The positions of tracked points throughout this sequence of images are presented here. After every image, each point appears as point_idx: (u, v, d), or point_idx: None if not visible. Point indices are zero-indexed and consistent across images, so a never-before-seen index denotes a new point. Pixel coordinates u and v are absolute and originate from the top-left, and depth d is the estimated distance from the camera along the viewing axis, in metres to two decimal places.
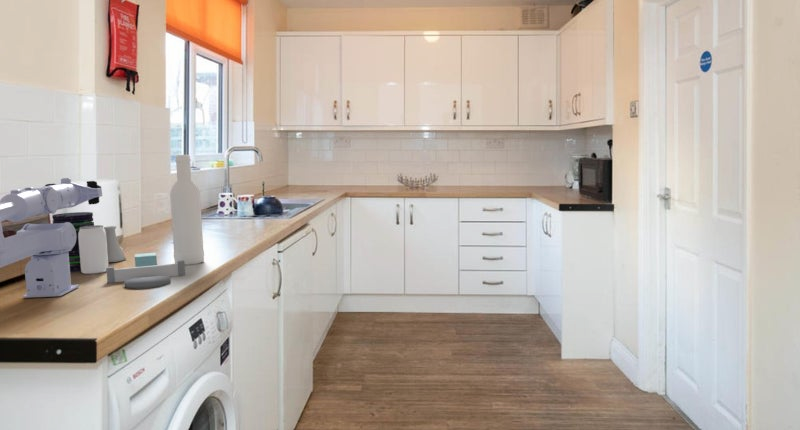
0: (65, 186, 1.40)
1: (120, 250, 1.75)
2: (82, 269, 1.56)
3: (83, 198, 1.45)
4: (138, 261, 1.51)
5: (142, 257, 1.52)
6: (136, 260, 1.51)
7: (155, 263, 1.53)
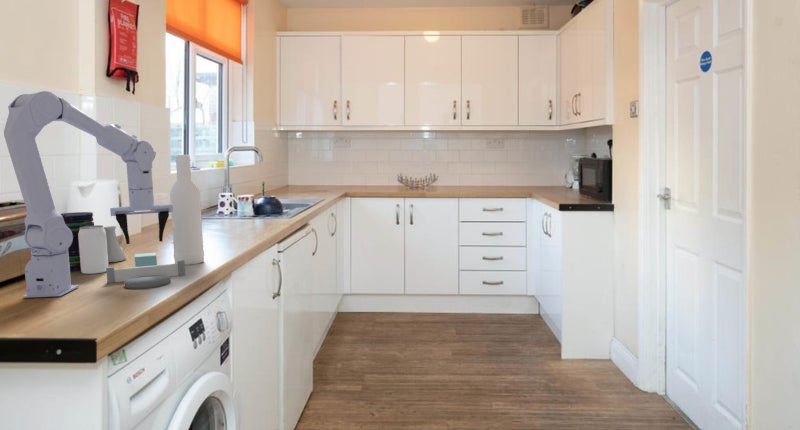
0: None
1: (120, 250, 1.75)
2: (82, 269, 1.56)
3: None
4: (138, 261, 1.51)
5: (142, 257, 1.52)
6: (136, 260, 1.51)
7: (155, 263, 1.53)
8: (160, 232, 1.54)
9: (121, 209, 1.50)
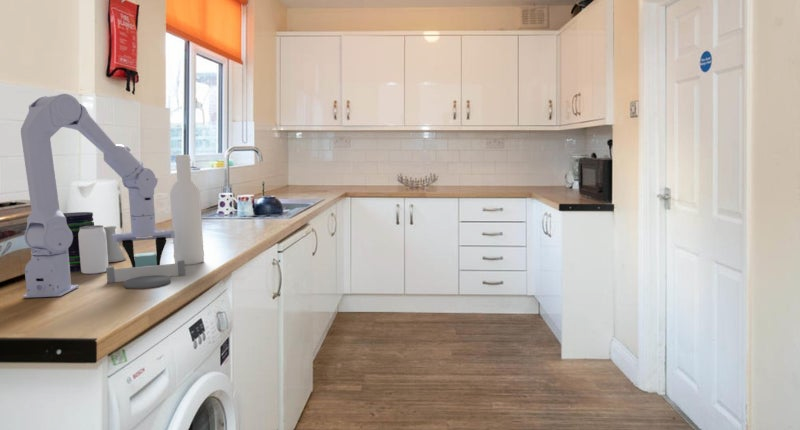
0: None
1: (120, 250, 1.75)
2: (82, 269, 1.56)
3: None
4: (138, 260, 1.51)
5: (142, 257, 1.52)
6: (136, 260, 1.51)
7: (155, 263, 1.53)
8: (157, 258, 1.54)
9: (123, 236, 1.50)
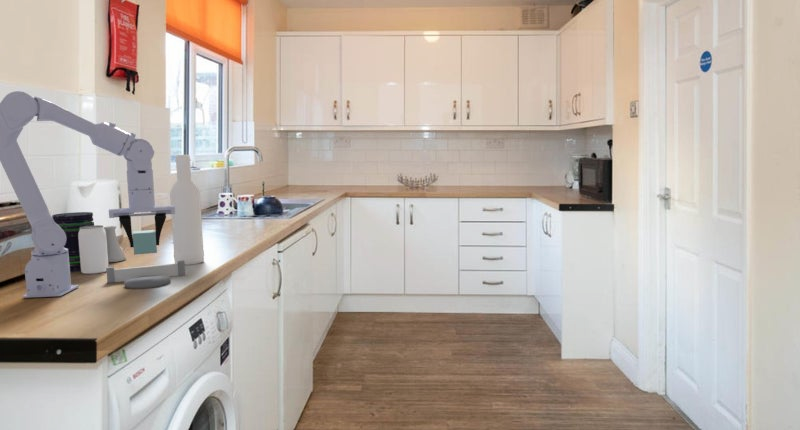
0: None
1: (120, 250, 1.75)
2: (82, 269, 1.56)
3: None
4: (136, 238, 1.43)
5: (140, 234, 1.43)
6: (134, 237, 1.43)
7: (154, 240, 1.44)
8: (157, 235, 1.45)
9: (120, 211, 1.42)
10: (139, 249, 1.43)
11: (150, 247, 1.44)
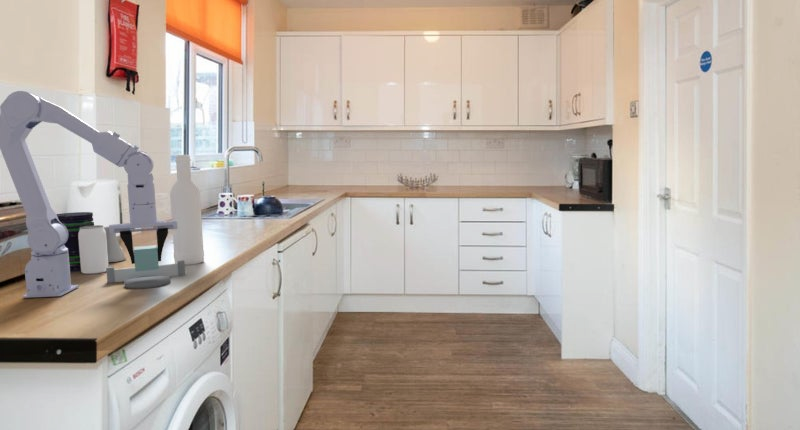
0: None
1: (120, 250, 1.75)
2: (82, 269, 1.56)
3: None
4: (137, 254, 1.38)
5: (142, 250, 1.39)
6: (135, 253, 1.38)
7: (156, 256, 1.40)
8: (158, 251, 1.41)
9: (121, 226, 1.37)
10: (140, 266, 1.39)
11: (152, 264, 1.40)
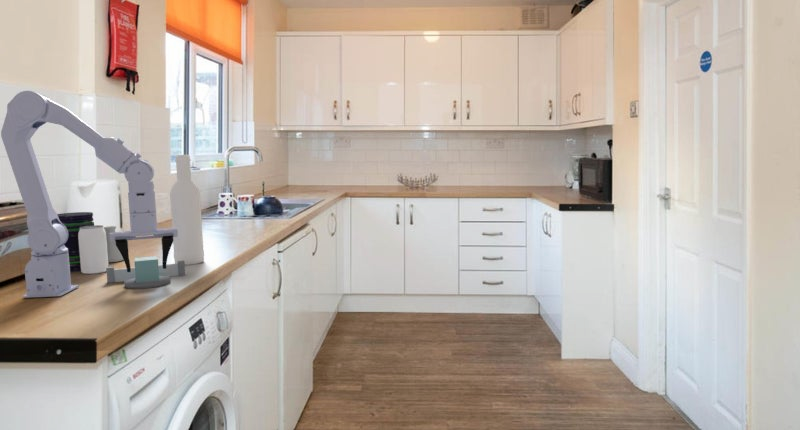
0: None
1: None
2: (82, 269, 1.56)
3: None
4: (138, 265, 1.39)
5: (142, 261, 1.39)
6: (136, 265, 1.38)
7: (157, 268, 1.40)
8: (164, 259, 1.42)
9: (121, 234, 1.37)
10: (141, 277, 1.39)
11: (152, 275, 1.40)
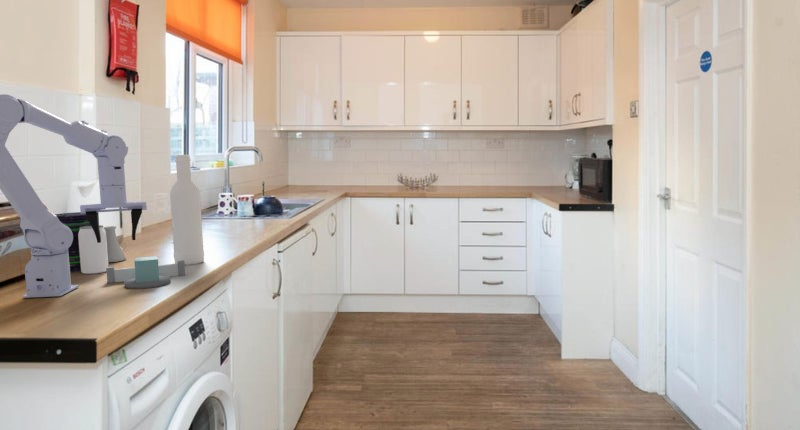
0: None
1: (120, 250, 1.75)
2: (82, 269, 1.56)
3: None
4: (138, 265, 1.39)
5: (142, 261, 1.39)
6: (136, 265, 1.38)
7: (157, 268, 1.40)
8: (133, 230, 1.48)
9: (91, 206, 1.44)
10: (141, 277, 1.39)
11: (152, 275, 1.40)
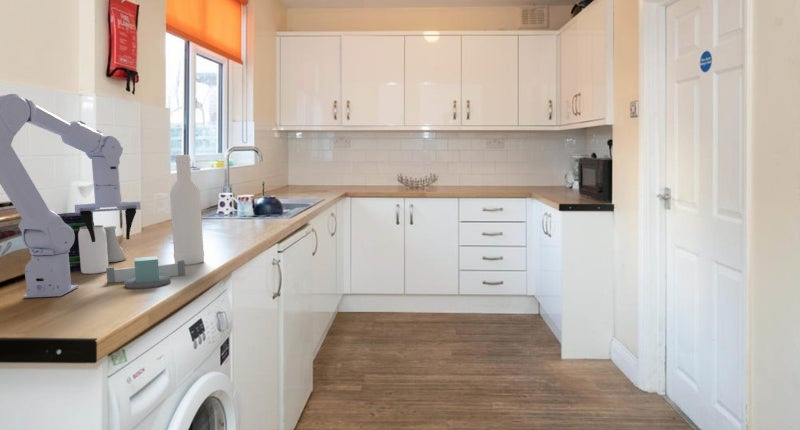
0: None
1: (120, 250, 1.75)
2: (82, 269, 1.56)
3: None
4: (138, 265, 1.39)
5: (142, 261, 1.39)
6: (136, 265, 1.38)
7: (157, 268, 1.40)
8: (127, 230, 1.49)
9: (86, 206, 1.45)
10: (141, 277, 1.39)
11: (152, 275, 1.40)
